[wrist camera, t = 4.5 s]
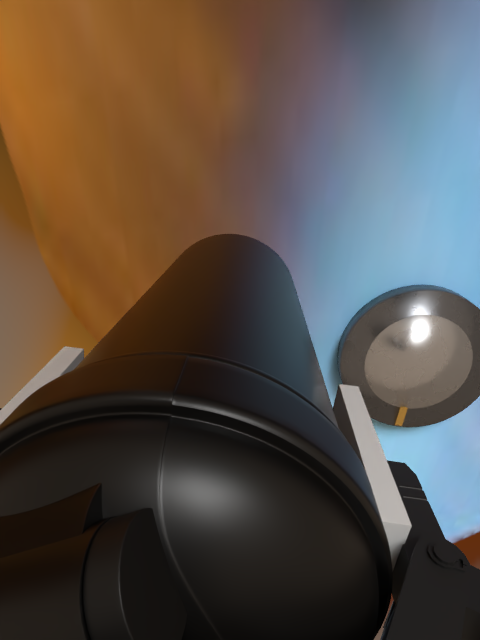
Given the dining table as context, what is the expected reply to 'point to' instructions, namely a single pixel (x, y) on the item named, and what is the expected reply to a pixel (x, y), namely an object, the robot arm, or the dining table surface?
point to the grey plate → (413, 355)
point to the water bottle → (191, 476)
